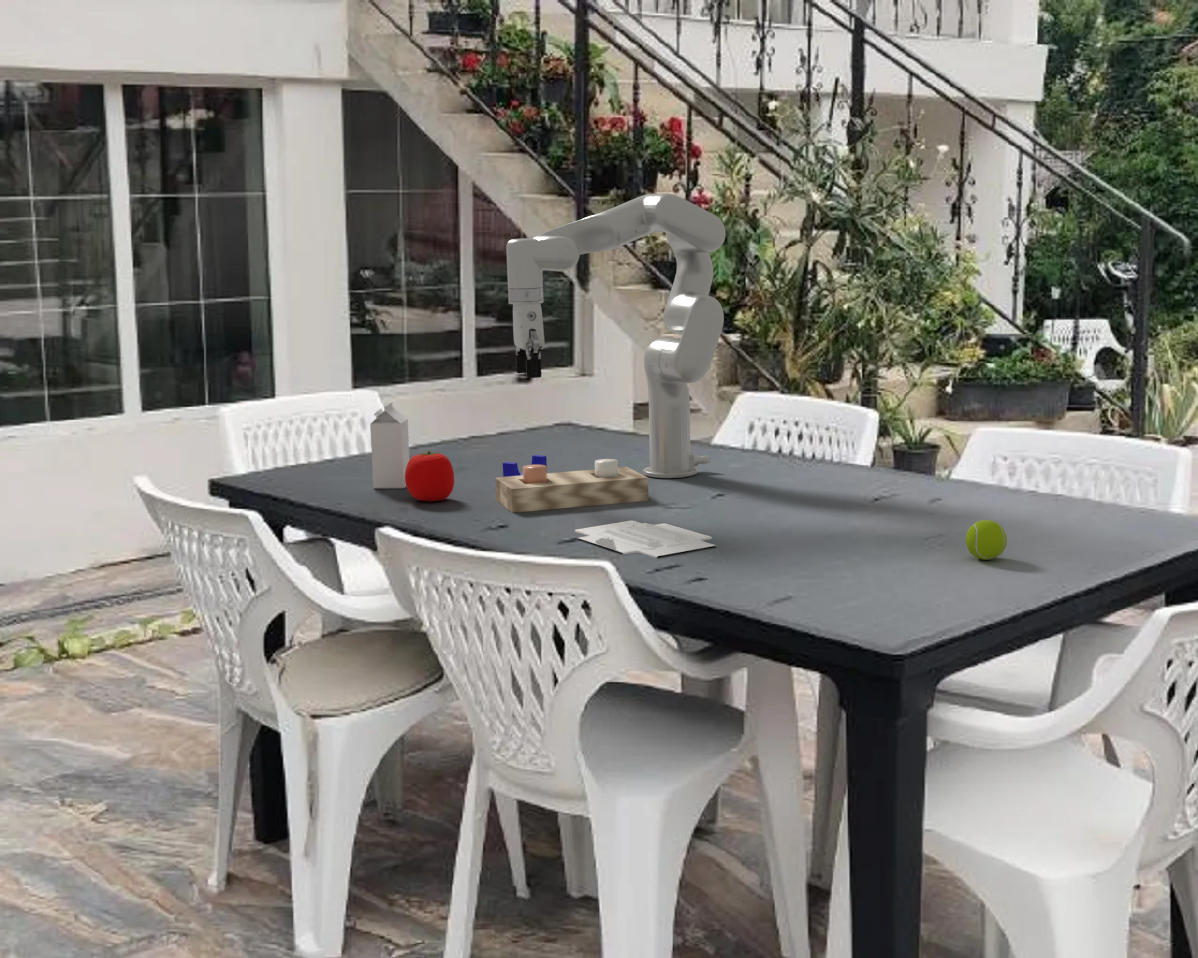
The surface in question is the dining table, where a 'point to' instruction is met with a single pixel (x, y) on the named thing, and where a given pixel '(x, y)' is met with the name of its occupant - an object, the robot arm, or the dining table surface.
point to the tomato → (429, 477)
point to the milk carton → (389, 448)
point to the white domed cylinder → (606, 468)
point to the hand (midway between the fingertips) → (528, 375)
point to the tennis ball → (986, 539)
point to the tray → (644, 538)
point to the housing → (571, 490)
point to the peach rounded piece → (534, 474)
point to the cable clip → (512, 468)
